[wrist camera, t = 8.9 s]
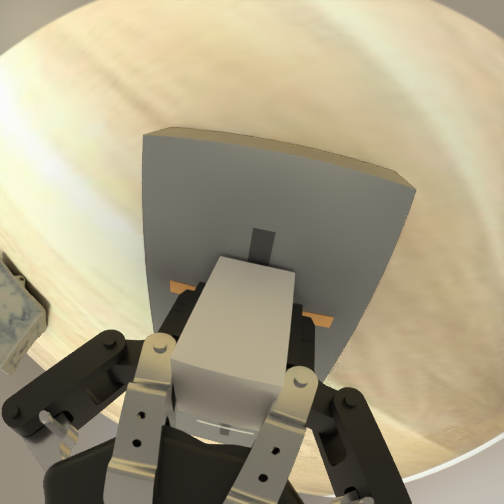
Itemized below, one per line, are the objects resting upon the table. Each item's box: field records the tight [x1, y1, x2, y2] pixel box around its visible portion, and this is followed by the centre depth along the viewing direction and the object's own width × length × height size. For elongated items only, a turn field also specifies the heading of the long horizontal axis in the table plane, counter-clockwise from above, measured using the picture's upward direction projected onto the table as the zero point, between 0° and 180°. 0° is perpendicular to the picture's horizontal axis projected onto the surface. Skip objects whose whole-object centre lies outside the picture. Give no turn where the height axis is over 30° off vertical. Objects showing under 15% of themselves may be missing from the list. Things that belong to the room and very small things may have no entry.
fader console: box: [142, 127, 416, 448], centre depth 20 cm, size 32×12×3 cm, turn 171°
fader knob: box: [170, 256, 295, 431], centre depth 11 cm, size 4×4×6 cm
